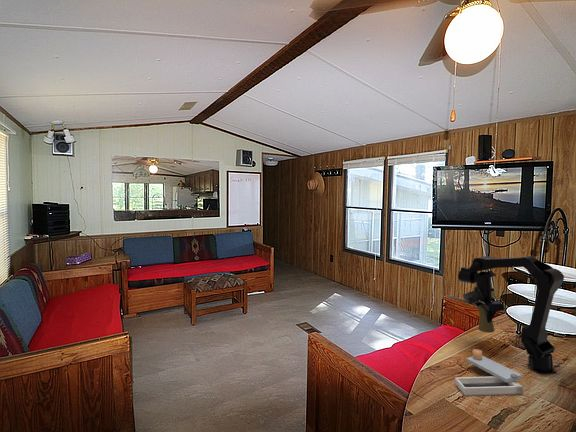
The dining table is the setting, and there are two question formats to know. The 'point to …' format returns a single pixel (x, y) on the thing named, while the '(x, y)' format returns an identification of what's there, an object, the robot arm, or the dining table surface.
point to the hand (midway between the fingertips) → (486, 320)
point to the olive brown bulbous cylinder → (484, 321)
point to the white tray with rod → (487, 386)
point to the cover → (493, 367)
